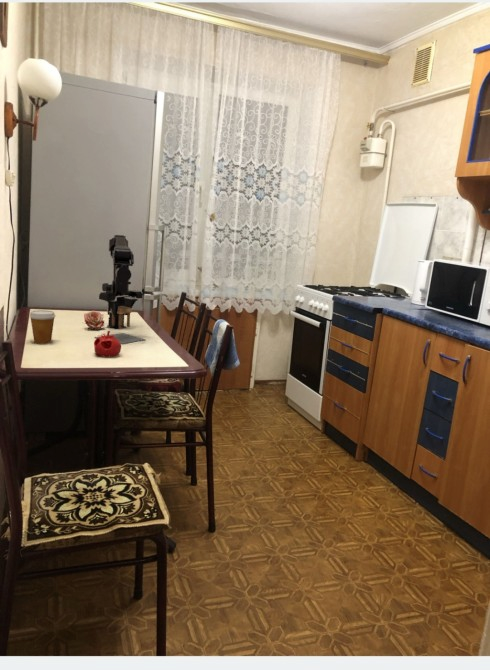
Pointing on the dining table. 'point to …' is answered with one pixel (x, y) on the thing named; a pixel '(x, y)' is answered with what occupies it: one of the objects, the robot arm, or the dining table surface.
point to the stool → (122, 311)
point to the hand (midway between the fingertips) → (120, 315)
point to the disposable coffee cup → (42, 325)
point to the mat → (126, 338)
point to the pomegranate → (107, 345)
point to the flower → (94, 319)
